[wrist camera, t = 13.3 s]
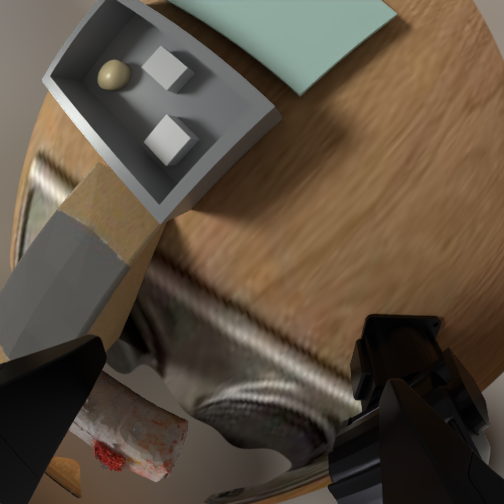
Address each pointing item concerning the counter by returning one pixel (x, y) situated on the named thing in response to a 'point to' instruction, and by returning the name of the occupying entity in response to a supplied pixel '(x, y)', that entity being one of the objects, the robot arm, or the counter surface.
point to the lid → (293, 31)
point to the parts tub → (156, 104)
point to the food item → (129, 430)
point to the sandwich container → (79, 269)
